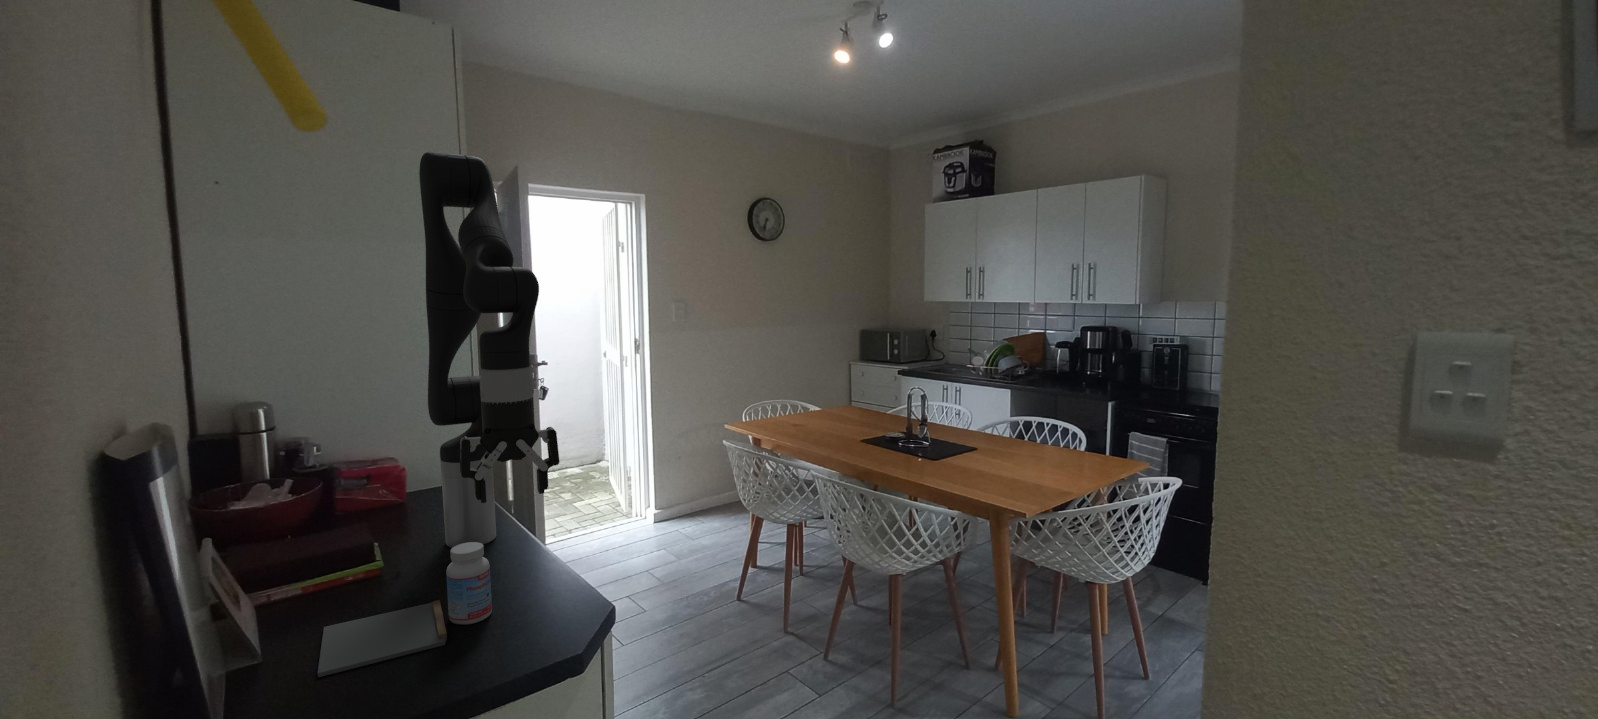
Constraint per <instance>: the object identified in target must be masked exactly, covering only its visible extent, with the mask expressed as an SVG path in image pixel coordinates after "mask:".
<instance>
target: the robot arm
mask: <svg viewBox="0 0 1598 719" xmlns="http://www.w3.org/2000/svg"><path fill="white" fill-rule="evenodd" d="M418 171H419V172H418V173H419V176H418V177H419V187H420V188H419V189H420V198H421V199H420V200H421V207H422V208H421V209H422V218H423V227H424V240H425V242H424V244H425V301H426V302H425V303H426V306H425V307H426V317H427V318H426V319H427V330H428V333H427V334H428V375H427V376H428V377H427V378H428V380H427V408H428V414H429V418H430V421H431V422H432V423H433V424H434V425H435V426H438V427H439V426H453V425H461V424H471V425H470V426H469V428H467V430H465V431H464V432H463V433H461V434H459V435H458V436H456V437H454V438H451V439H449V440H447V441H445V442H443V443H442V444H441V446H440V447H439V459H440V460H439V461H440V473H441V486H442V487H441V490H442V505H443V506H442V507H443V520H444V537H445V545H446V546H447V547H449V548H453V547H454V546H457V545H459V544H463V543H468V542H478V543H482V544H483V545H485V544H488V543H490V542H493V541H494V540H495V538H497V524H496V506H495V505H496V504H495V502H496V501H495V486H494V470H493V466H494V465H495V463H496V462H497V461H498V462H500V463H505V462H509V461H512V460H513V461H520V460H523V459H524V458H526V457H527V458H529V459H530V461H531V462H532V463H534V465H536V466H537V468H536V484H537V485H536V486H537V487H536V488H537V493H538V494H539V495H543V494H545V490H548V488H549V476H548V475H549V474H548V473H549V472H548V471H549V469H550V468H552V467H554V466H558V465H559V464H560V454H559V445H558V444H559V443H558V436H557V434H558V433H557V431H556V430H555V429H554V428H553V427H552V426H547V427H546V428H544V429H541V430H537V429H536V423H535V408H534V406H535V405H534V404H535V403H534V402H535V401H534V393H535V389H534V386H533V385H534V384H533V383H534V381H533V375H532V371H531V358H530V357H531V355H530V336H531V329H532V324H533V319H534V314H535V312H536V307H537V305H538V300H539V295H540V284H539V280H538V279H537V278H538V277H536V274H535V273H534V272H533V271H532V270H531V269H529V268H528V267H523V266H514V254H513V251H512V250H511V248H510V244H509V242H508V239H507V238H506V235H505V232H504V230H503V227H502V224H501V220H500V213H499V208H498V207H499V206H498V202H497V197H496V192H495V189H494V188H495V187H494V183H493V177H492V174H491V171H490V169H489V166H488V165H487V162H485V160H483V159H482V158H481V157H478V156H474V155H469V154H468V155H466V154H458V153H448V152H438V151H436V152H435V151H427V152H425V153H423V154H422V156H421V158H420V163H419V170H418ZM445 207H446V208H447V207H450V208H464V209H472V210H470V212H469V213H468V214H467V215H466V216H465V218H463V220H462V222H461V224H460V225H459V228H458V232H457V234H458V235H457V239H458V240H457V241H458V243H457V241H456V239H455V238H454V236H453V235H452V232H451V231H450V228H449V226H448V223H447V221H446V217H445V212H444V208H445ZM505 313H506V314H507V313H511V314H512V315H511V317H510V320H509V321H508V322H507V323H506V324H505V325H503V326H500V327H494V328H491V329H488V330H484V331H483V332H482V333H481V334H480V335H479V341H478V342H479V358H480V375H469V376H468V375H465V376H455V377H449V374H450V370H451V366H452V363H453V361H454V359H455V357H456V355H457V353H458V351H459V350H460V348H461V346H462V345H463V344H464V342H465V341H466V340H467V338H469V335H470V334H471V332H472V331H473V329H474V328H475V327H476V325H477V324H478V322H479V320H480V317H481V315H482V314H505ZM539 438H541V439H542V442H544V443H546V445H547V447H546V448H547V456H548V457H547V458H544V459H543V458H542V457H541V456H540V455H539V454H538V453H537V452H536V451H535V450H534V449H533V447H534V446H535V444H536V442H537V441H538V439H539Z"/></svg>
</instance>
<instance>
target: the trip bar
mask: <svg viewBox="0 0 1598 719" xmlns="http://www.w3.org/2000/svg"><path fill="white" fill-rule="evenodd" d="M432 603H433V609H434V614H435V620H436V625H437V630H438V636H439V639H442V638H445V642H448V635H447V628H446V625H445V624H446V623H445V619H444V614H443V610H442V604H441V600H440V599H438V600H434V601H432Z"/></svg>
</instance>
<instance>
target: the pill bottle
mask: <svg viewBox="0 0 1598 719" xmlns="http://www.w3.org/2000/svg"><path fill="white" fill-rule="evenodd" d="M484 550H485V549H484V544H482V543H478V542H468V543H463V544H459V545H457V546H454V547H451V549H450V551H449V552H450V553H449V554H450V556H449V557H450V560H451V562H450V563H449V565H448V566H447V567H446V570H445V571H446V588H447V589H446V591H447V609H448V619H449V621H450V622H451V623H453V624H455V625H472V624H476V623H479V622H481V621H484V620H485V619H487V618H488V617H490V615H491V613H492V611H493V603H492V601H493V600H492V586H491V568H490V567H491V566H490V562H489V560H488V559H487V558H486V557H484V554H485V551H484Z"/></svg>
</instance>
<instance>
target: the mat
mask: <svg viewBox="0 0 1598 719" xmlns="http://www.w3.org/2000/svg"><path fill="white" fill-rule="evenodd" d="M320 646H321V647H320V652H319V661H318V667H317V678H322V677H324V676H329V675H333V674H338V673H342V672H345V671H348V670H352V669H356V668H361V667H365V666H368V665H371V664H372V665H373V664H377V663H381V662H384V661H388V660H391V659H395V658H399V657H403V656H408V655H411V654H415V653H419V652H423V651H427V650H430V649H435V648H438V647H443V646H446V641H445V638H442V639H439V636H438V630H437V625H436V620H435V614H434V609H433V602H428V603H424V604H419V605H415V606H410V607H407V608H403V609H398V610H394V611H393V610H392V611H389V612H384V613H380V614H376V615H371V616H367V617H362V618H358V619H353V620H349V621H345V622H339V623H336V624H331V625H327V626H323V633H322V638H321V645H320Z"/></svg>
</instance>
